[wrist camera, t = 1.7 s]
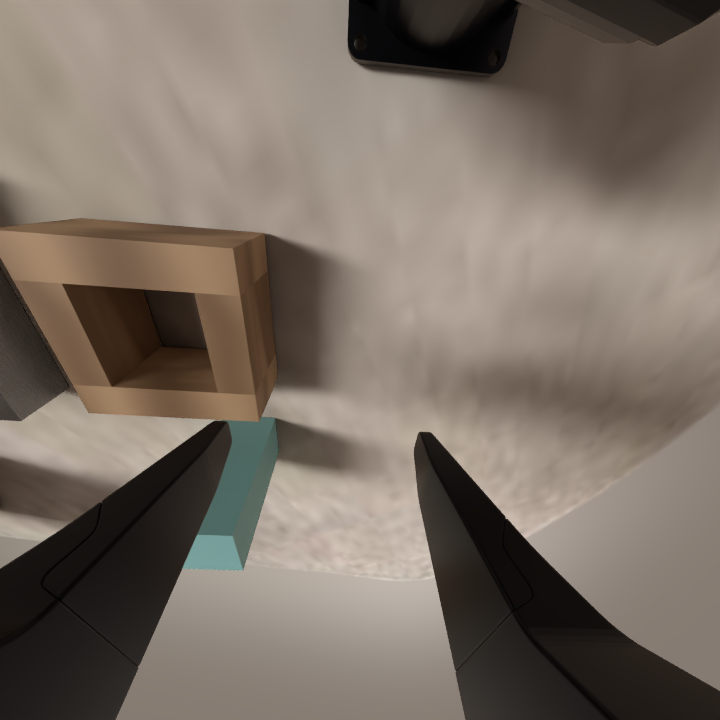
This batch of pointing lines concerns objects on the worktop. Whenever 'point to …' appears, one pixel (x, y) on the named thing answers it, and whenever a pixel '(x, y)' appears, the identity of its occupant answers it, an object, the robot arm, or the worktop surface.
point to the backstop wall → (23, 362)
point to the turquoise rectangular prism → (237, 498)
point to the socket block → (133, 318)
